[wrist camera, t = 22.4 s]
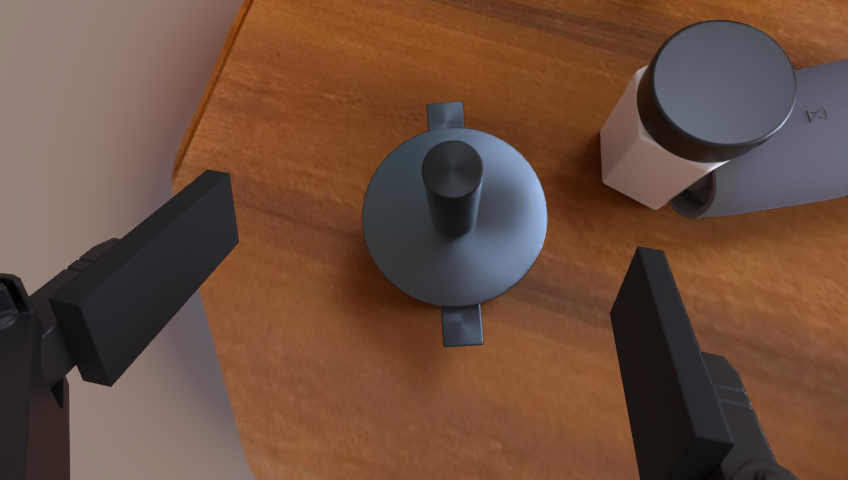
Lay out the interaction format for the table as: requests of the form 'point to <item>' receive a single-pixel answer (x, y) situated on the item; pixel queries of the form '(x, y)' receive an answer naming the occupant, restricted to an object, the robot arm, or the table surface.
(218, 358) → the table surface
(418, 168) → the lid
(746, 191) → the bluetooth speaker
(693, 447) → the robot arm
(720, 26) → the jar
